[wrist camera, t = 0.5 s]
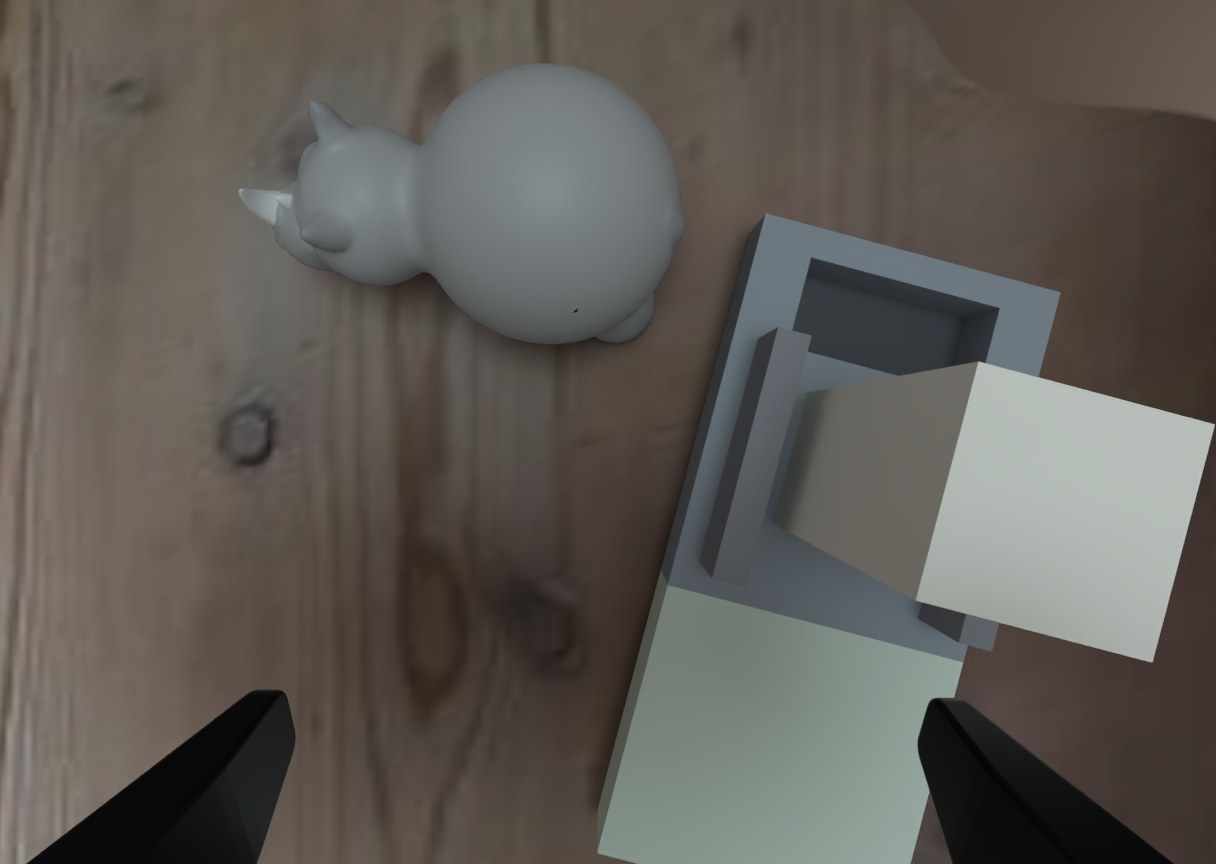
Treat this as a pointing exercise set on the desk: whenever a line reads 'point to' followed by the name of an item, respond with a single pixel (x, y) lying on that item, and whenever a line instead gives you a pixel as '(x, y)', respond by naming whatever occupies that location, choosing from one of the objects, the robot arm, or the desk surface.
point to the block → (1002, 498)
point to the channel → (798, 578)
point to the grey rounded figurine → (498, 205)
